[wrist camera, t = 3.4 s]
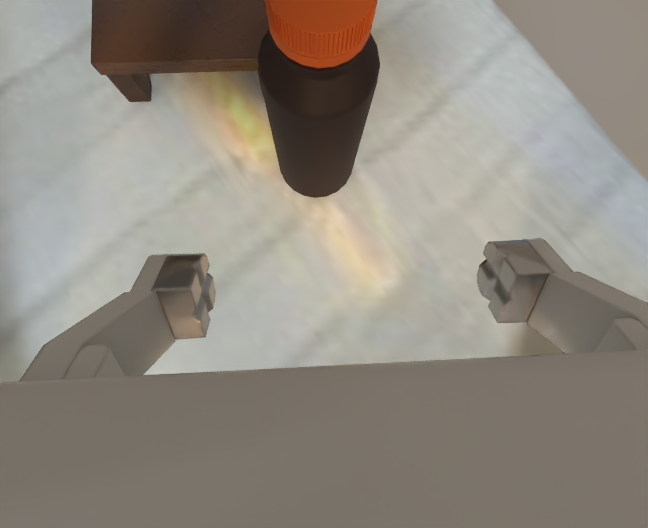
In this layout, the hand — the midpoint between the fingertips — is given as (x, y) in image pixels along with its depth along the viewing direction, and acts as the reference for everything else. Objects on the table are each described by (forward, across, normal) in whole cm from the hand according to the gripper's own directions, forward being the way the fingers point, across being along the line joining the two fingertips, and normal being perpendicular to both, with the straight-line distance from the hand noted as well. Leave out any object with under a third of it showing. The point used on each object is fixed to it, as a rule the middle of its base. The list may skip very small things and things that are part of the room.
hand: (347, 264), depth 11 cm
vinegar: (+25, 0, +8) cm, 26 cm away
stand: (+35, +10, -2) cm, 36 cm away
